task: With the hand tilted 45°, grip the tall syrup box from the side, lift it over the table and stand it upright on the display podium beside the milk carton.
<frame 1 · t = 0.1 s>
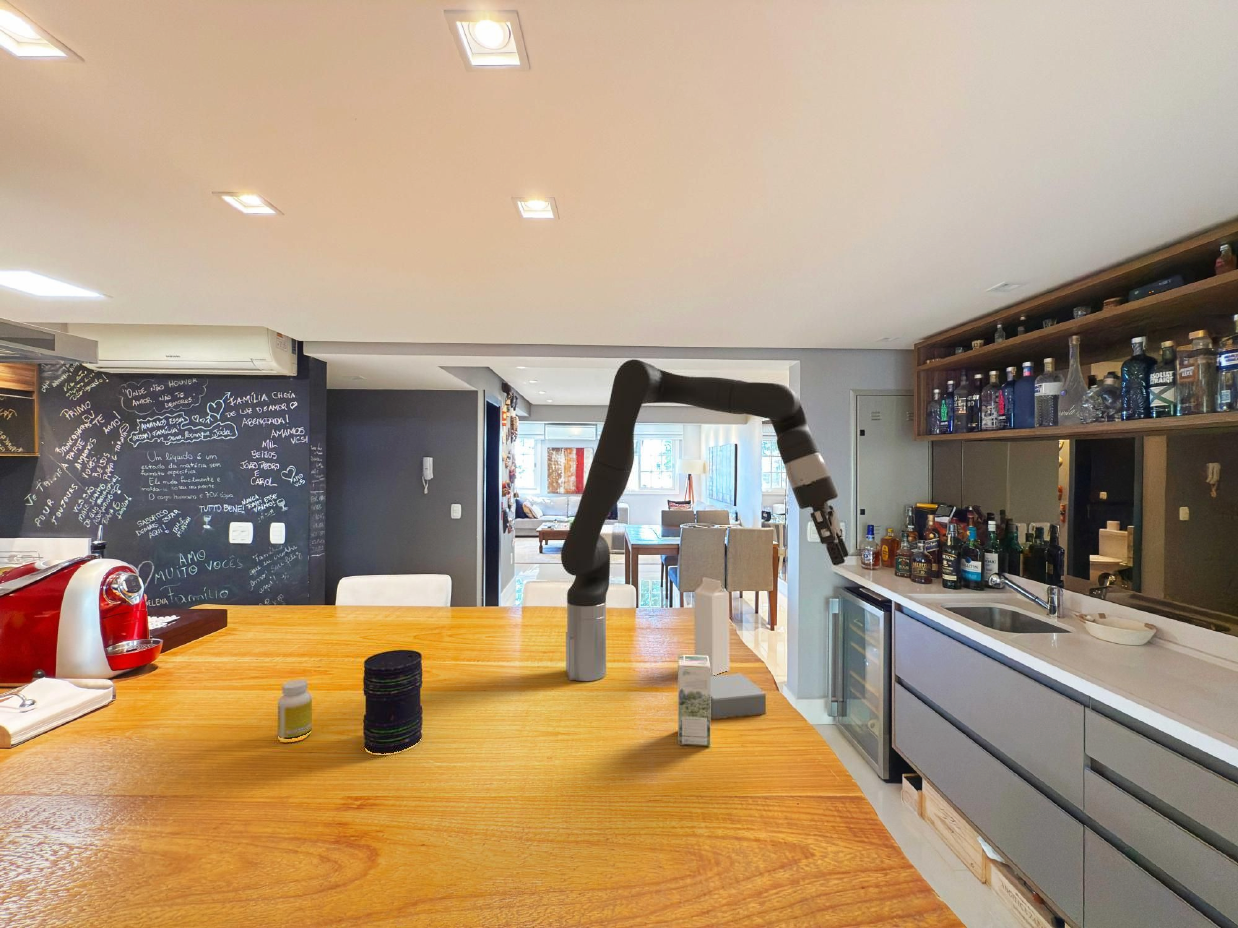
hand: (841, 560, 105), 31 cm above the table, tool tilted 20°, fingers open, 8 cm apart
supplement bottle: (294, 737, 101), on the table
storage jar: (393, 742, 99), on the table
syrup box: (694, 740, 100), on the table
milk: (711, 670, 134), on the table
podium: (728, 704, 114), on the table
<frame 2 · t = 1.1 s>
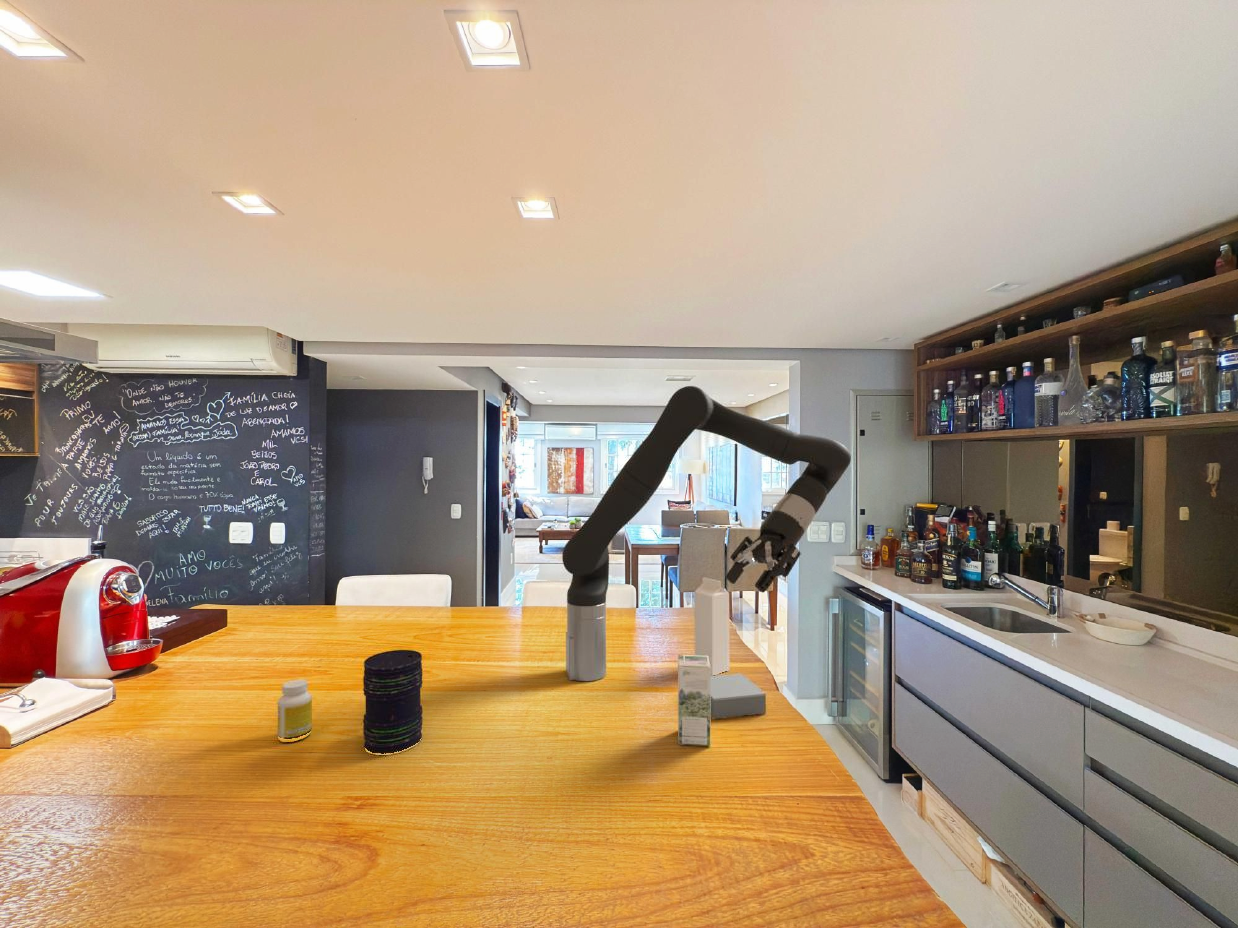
hand: (743, 585, 106), 27 cm above the table, tool tilted 45°, fingers open, 8 cm apart
nothing on the table moved.
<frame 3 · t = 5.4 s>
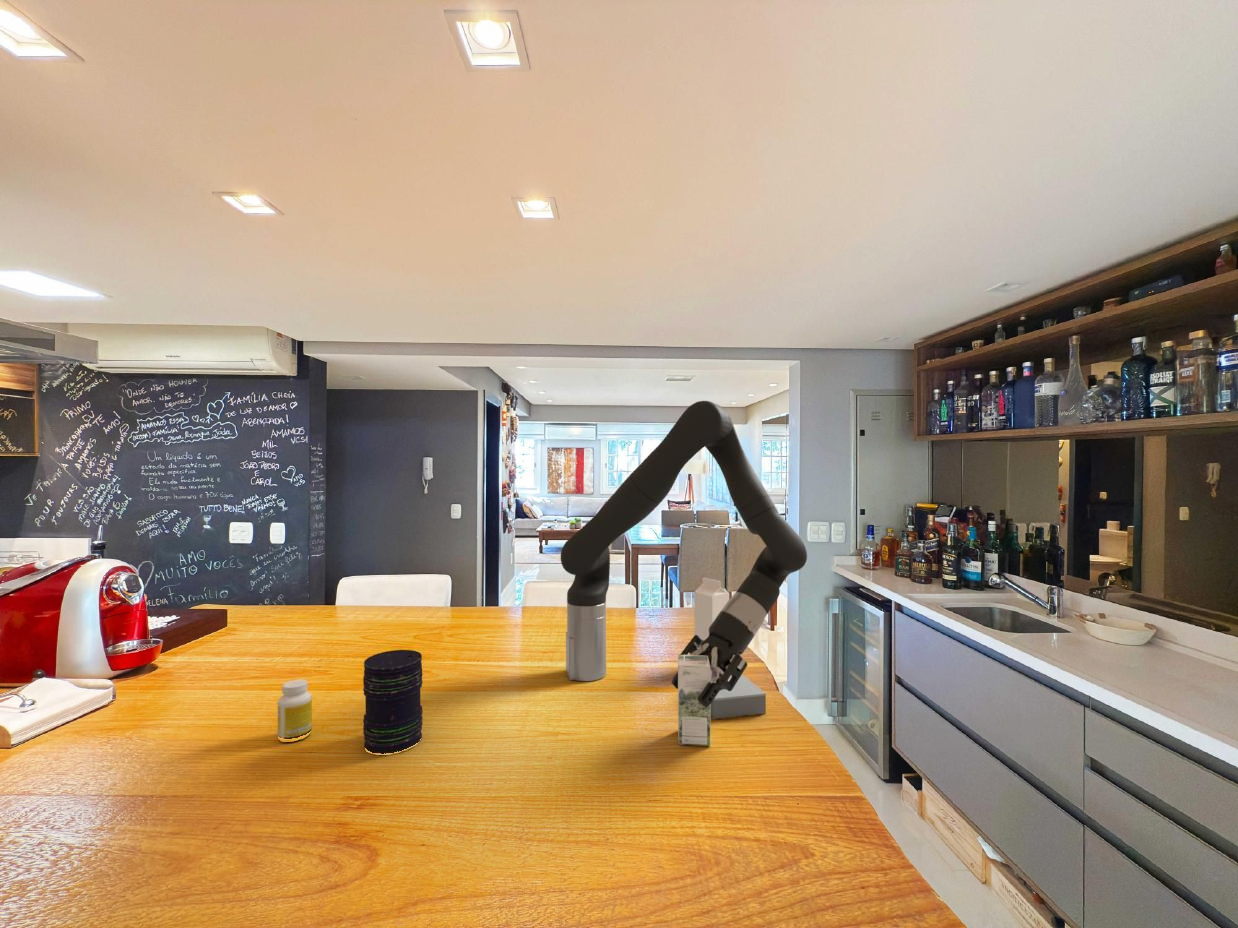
hand: (687, 695, 100), 8 cm above the table, tool tilted 45°, fingers closed on syrup box, 8 cm apart
syrup box: (694, 739, 100), on the table, touching gripper
everything else where it was.
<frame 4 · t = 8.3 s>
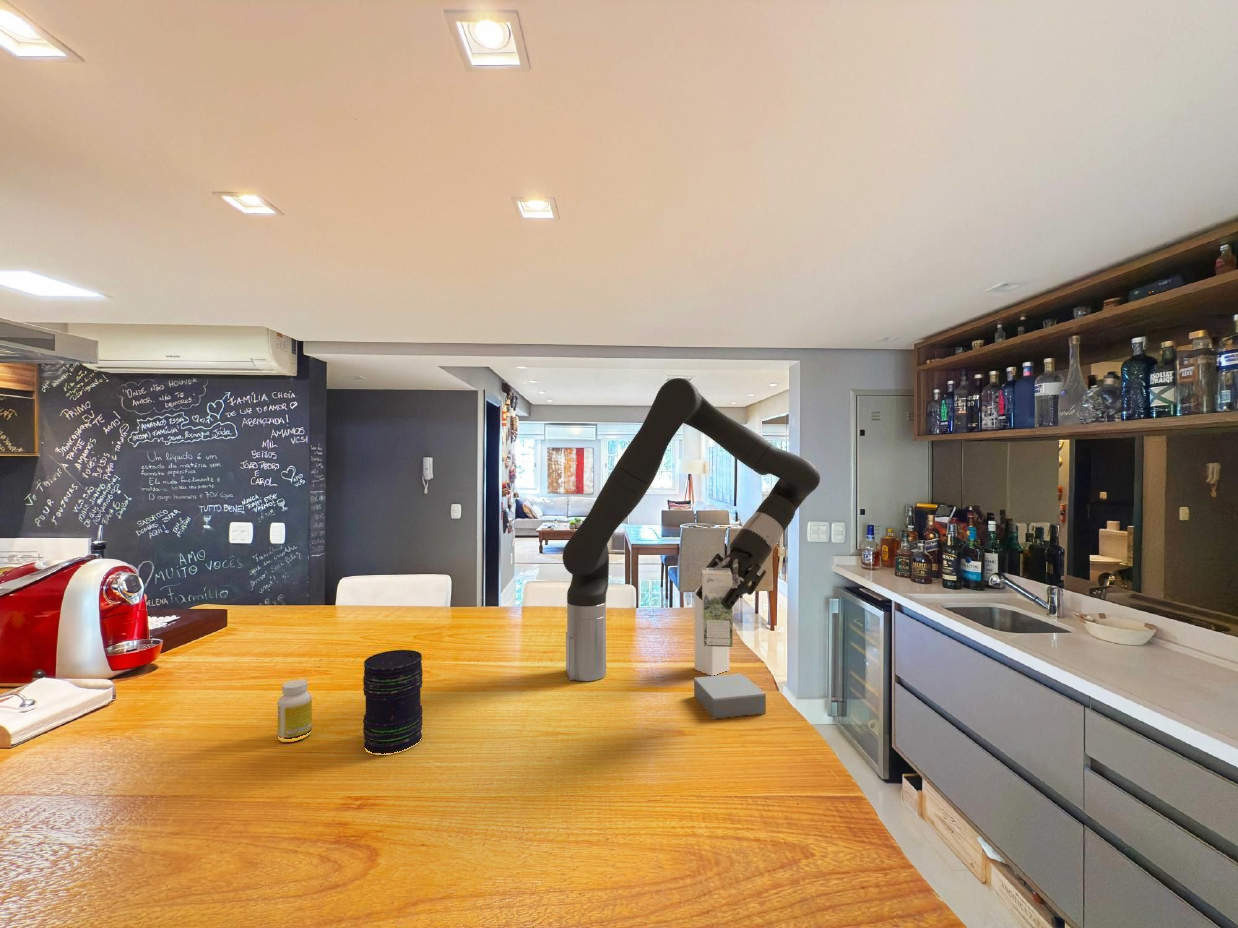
hand: (711, 602, 109), 23 cm above the table, tool tilted 45°, fingers closed on syrup box, 8 cm apart
syrup box: (717, 643, 109), point 14 cm above the table, touching gripper
everything else where it was.
when the fingers open (13 cm above the table, at t = 11.1 s): syrup box drops 1 cm, resting on podium.
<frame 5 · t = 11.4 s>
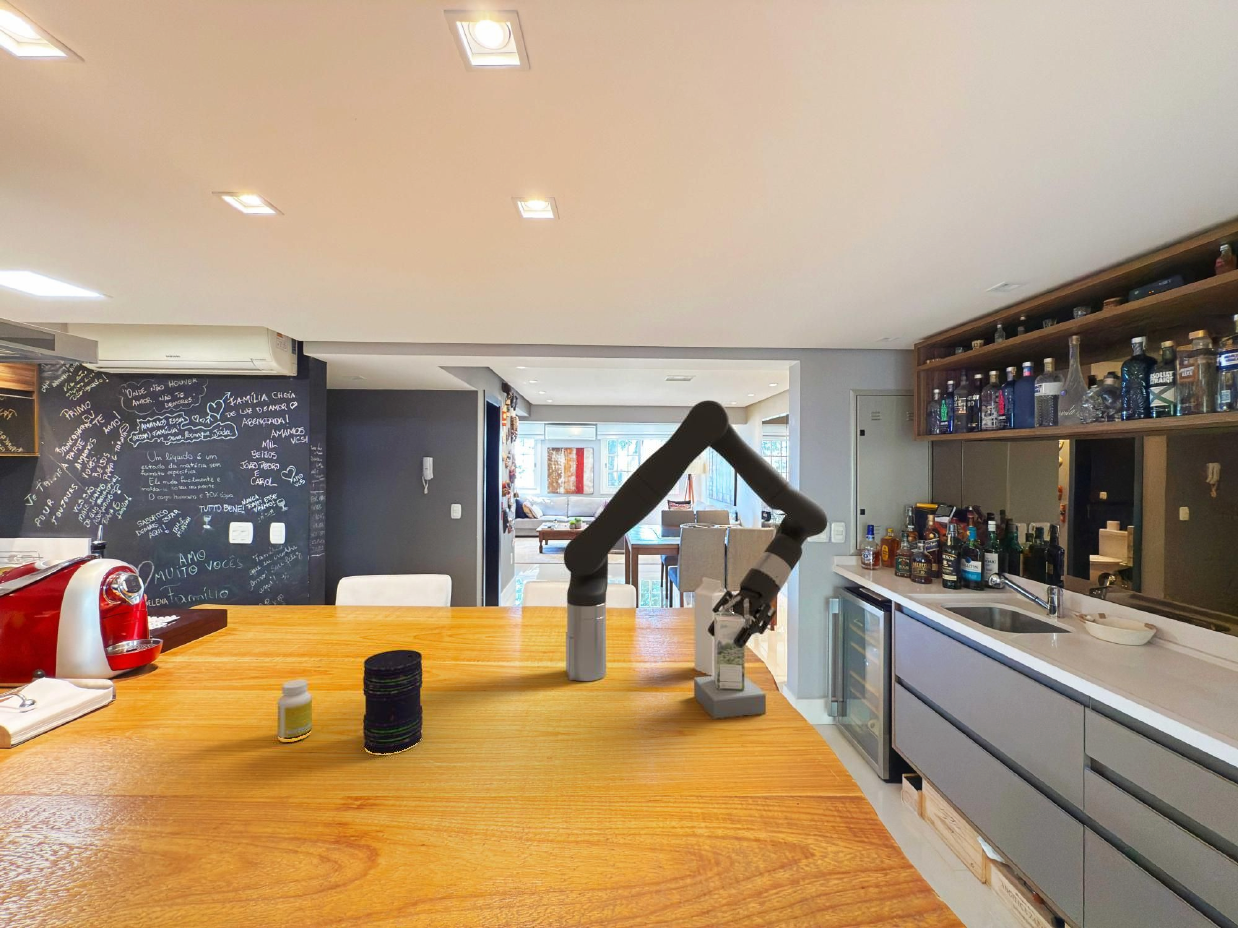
hand: (723, 639, 114), 14 cm above the table, tool tilted 45°, fingers open, 8 cm apart
syrup box: (729, 686, 115), point 4 cm above the table, touching gripper, podium
everything else where it was.
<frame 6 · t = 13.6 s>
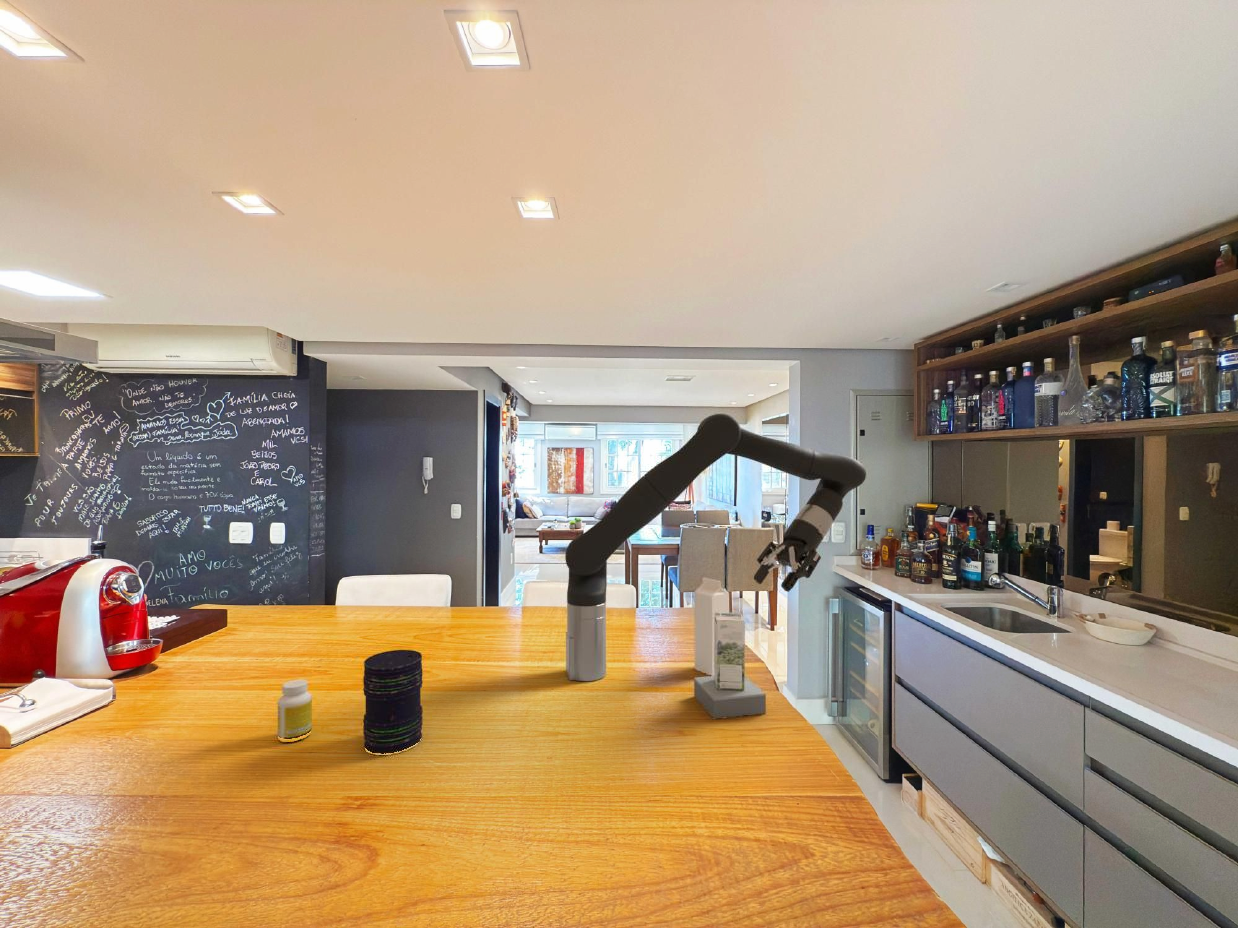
hand: (770, 585, 120), 24 cm above the table, tool tilted 45°, fingers open, 8 cm apart
syrup box: (729, 686, 115), point 4 cm above the table, touching podium
everything else where it was.
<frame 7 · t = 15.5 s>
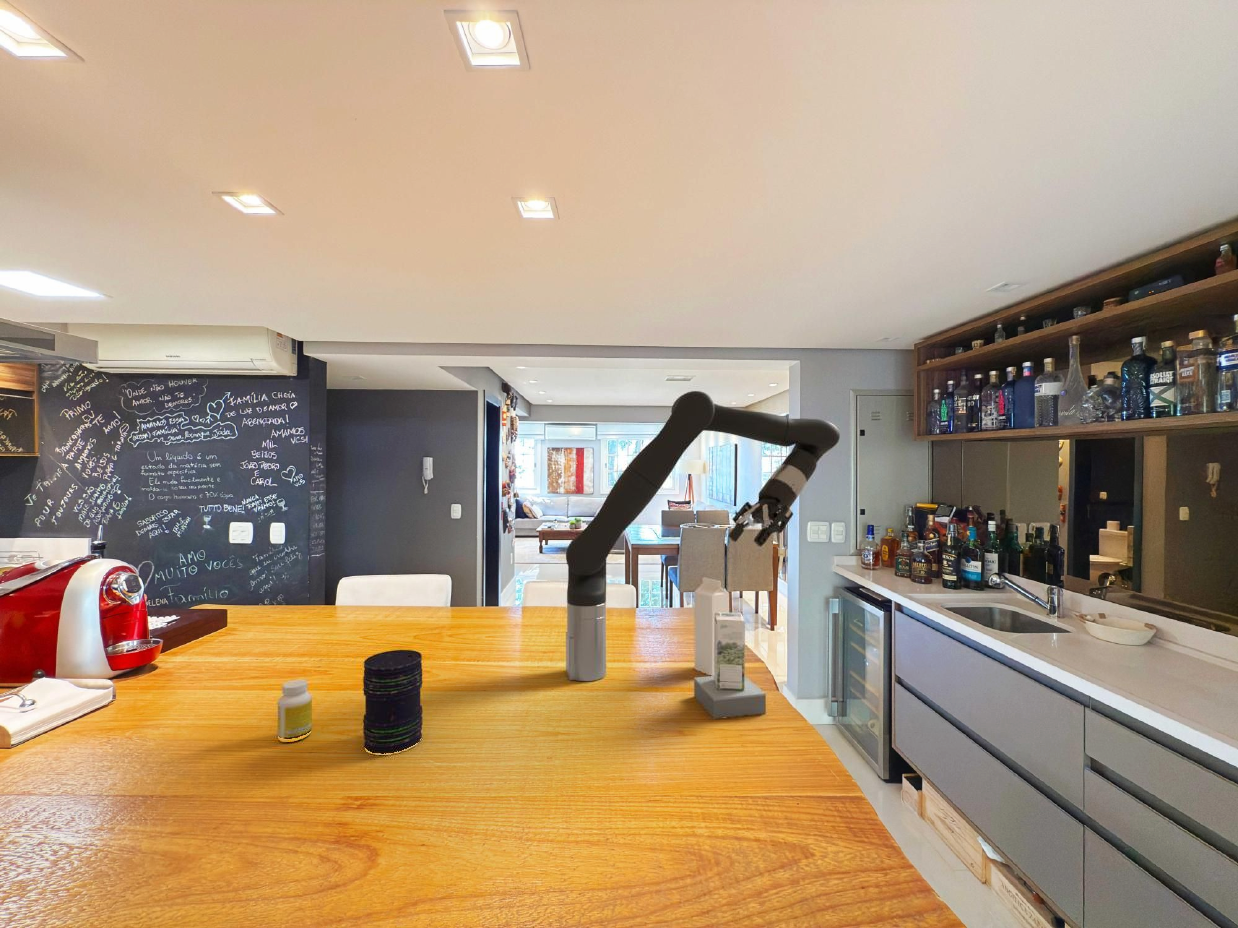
hand: (744, 541, 123), 33 cm above the table, tool tilted 45°, fingers open, 8 cm apart
nothing on the table moved.
at the end: syrup box inside the target area on the podium (0.2 cm from its centre), point 3.8 cm above the podium's base; syrup box tilted 0°; the gripper is holding nothing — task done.
